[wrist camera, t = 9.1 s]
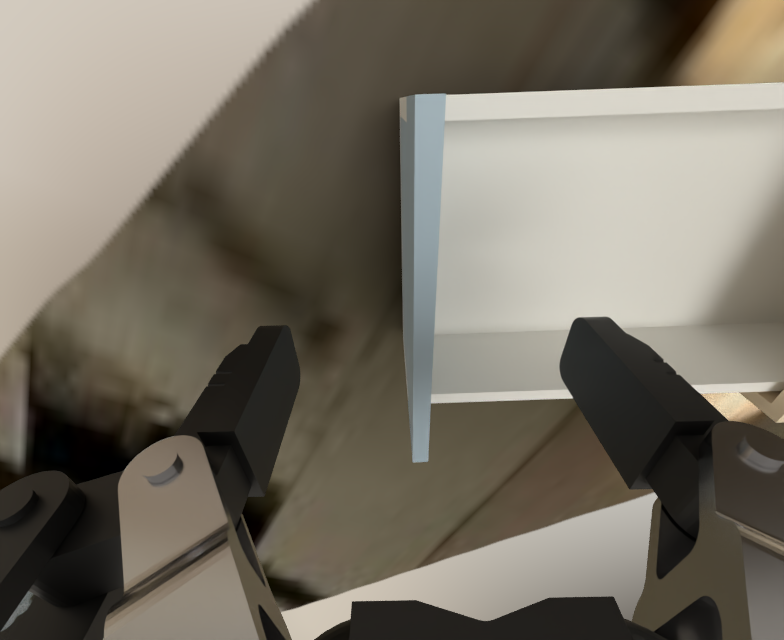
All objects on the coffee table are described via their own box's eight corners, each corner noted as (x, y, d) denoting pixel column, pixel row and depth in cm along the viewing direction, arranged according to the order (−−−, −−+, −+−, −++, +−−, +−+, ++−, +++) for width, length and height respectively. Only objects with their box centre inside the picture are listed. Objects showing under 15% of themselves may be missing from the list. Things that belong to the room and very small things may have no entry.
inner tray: (1029, 74, 13) (1721, 45, 6) (820, 324, 20) (1047, 440, 13) (399, 98, 13) (415, 94, 6) (403, 338, 20) (412, 462, 13)
